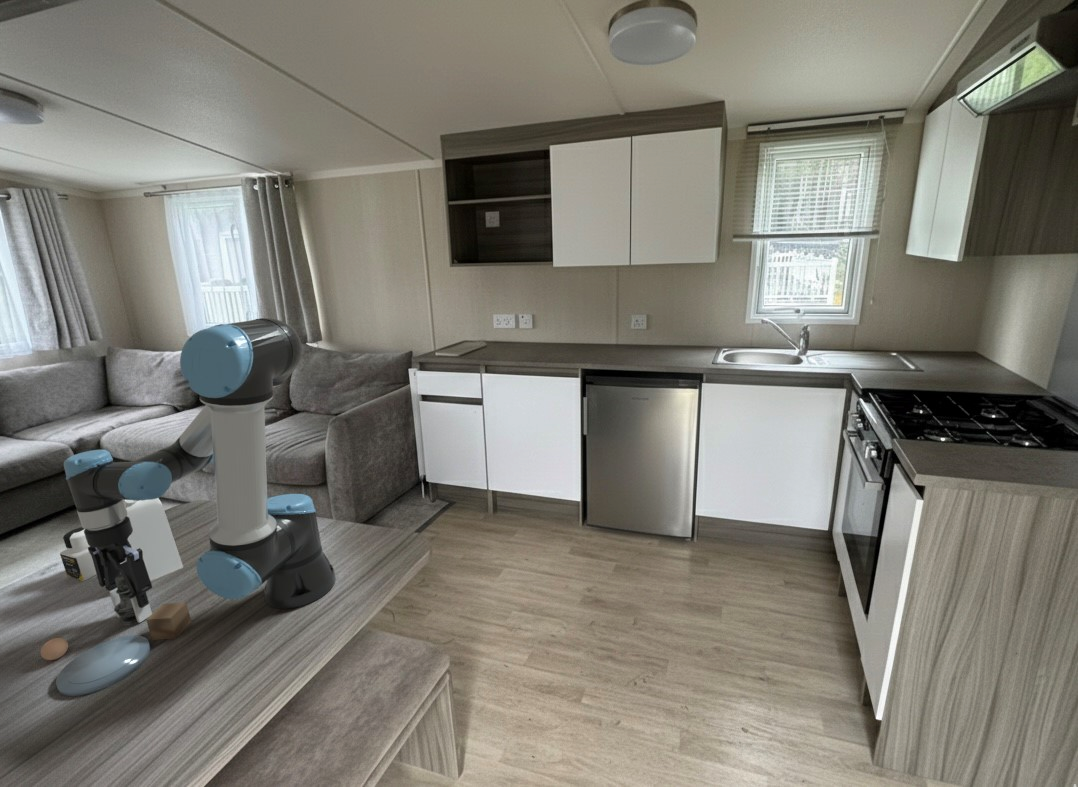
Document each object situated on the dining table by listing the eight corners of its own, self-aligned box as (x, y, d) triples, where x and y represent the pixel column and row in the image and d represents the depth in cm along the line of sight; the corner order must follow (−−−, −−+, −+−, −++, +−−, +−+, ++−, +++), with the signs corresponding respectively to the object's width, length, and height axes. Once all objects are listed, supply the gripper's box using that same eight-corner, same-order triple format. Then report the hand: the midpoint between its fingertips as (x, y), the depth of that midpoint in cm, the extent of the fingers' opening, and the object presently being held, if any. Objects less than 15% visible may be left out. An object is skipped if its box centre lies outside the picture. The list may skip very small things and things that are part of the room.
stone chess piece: (133, 627, 109) (118, 579, 106) (111, 625, 111) (96, 577, 108) (158, 609, 115) (144, 563, 112) (137, 607, 116) (123, 561, 113)
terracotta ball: (75, 651, 103) (69, 635, 102) (51, 666, 100) (45, 649, 98) (62, 648, 104) (57, 631, 103) (39, 662, 101) (33, 645, 100)
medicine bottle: (66, 577, 130) (52, 535, 127) (98, 561, 137) (86, 521, 134) (83, 582, 128) (69, 539, 125) (114, 566, 134) (102, 525, 131)
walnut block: (191, 622, 110) (186, 602, 109) (176, 638, 105) (170, 618, 104) (168, 623, 110) (162, 603, 109) (152, 640, 105) (146, 619, 104)
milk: (169, 553, 139) (145, 465, 132) (183, 567, 132) (158, 475, 125) (114, 575, 130) (86, 482, 123) (126, 591, 123) (96, 493, 116)
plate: (166, 647, 103) (165, 641, 102) (89, 703, 90) (87, 697, 90) (120, 635, 107) (118, 629, 107) (39, 686, 95) (37, 680, 94)
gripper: (155, 518, 107) (181, 611, 113) (96, 509, 113) (124, 598, 119) (117, 536, 101) (146, 634, 106) (57, 526, 107) (88, 619, 112)
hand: (134, 615), depth 113 cm, fingers closed on stone chess piece, 6 cm apart
